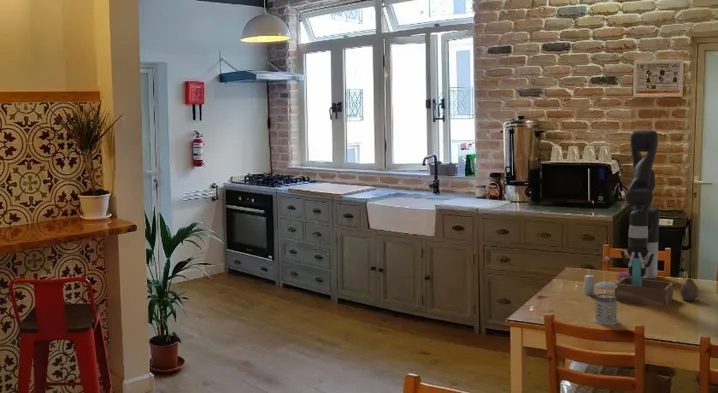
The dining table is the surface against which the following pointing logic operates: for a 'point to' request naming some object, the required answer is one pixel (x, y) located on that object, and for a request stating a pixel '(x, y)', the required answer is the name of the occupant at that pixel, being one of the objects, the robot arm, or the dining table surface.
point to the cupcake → (623, 275)
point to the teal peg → (636, 272)
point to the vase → (689, 290)
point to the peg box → (644, 292)
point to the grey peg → (589, 285)
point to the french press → (606, 304)
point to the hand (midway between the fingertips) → (636, 275)
